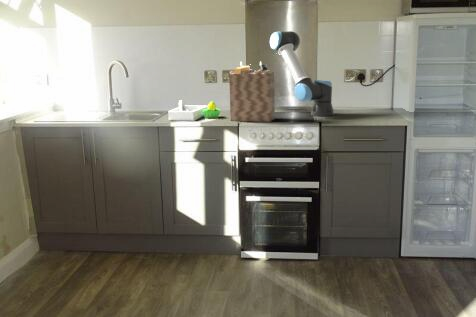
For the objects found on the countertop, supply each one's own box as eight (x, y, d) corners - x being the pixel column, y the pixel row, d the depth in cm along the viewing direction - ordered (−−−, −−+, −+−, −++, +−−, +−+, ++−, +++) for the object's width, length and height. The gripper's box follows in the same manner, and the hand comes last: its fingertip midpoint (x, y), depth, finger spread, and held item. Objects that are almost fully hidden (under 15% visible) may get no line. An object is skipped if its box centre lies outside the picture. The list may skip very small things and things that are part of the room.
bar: (250, 71, 340) (250, 65, 339) (240, 73, 318) (240, 68, 317) (245, 71, 341) (245, 65, 340) (235, 74, 319) (235, 68, 318)
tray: (207, 114, 358) (207, 105, 357) (193, 120, 331) (193, 111, 330) (184, 113, 363) (184, 105, 361) (168, 120, 336) (168, 111, 335)
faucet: (188, 114, 336) (186, 93, 348) (173, 119, 337) (171, 98, 350) (196, 127, 347) (193, 107, 359) (181, 132, 348) (179, 111, 361)
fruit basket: (218, 116, 349) (217, 99, 347) (221, 118, 341) (220, 101, 338) (201, 117, 346) (201, 100, 344) (204, 119, 338) (204, 102, 335)
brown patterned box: (274, 118, 334) (274, 69, 327) (270, 121, 321) (269, 71, 313) (236, 117, 341) (235, 69, 334) (230, 120, 328) (229, 71, 320)
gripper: (273, 81, 360) (268, 68, 340) (239, 81, 367) (232, 68, 347) (274, 72, 362) (269, 58, 342) (240, 72, 369) (233, 58, 349)
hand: (250, 63), depth 345 cm, fingers open, 13 cm apart
